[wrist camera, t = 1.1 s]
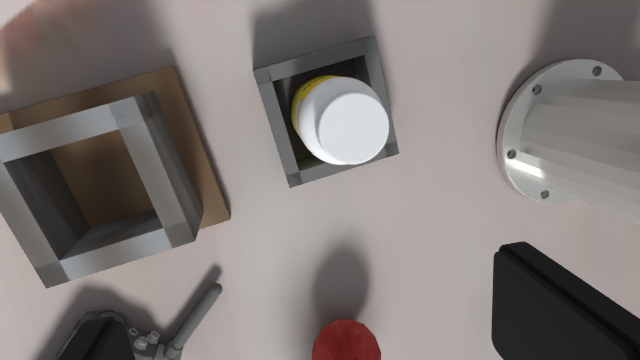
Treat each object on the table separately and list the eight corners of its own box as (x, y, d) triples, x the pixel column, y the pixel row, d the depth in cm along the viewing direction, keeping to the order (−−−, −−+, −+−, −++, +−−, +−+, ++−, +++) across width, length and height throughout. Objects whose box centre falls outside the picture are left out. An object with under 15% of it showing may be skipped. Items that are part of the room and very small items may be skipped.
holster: (362, 38, 29) (374, 35, 26) (385, 145, 32) (399, 153, 29) (252, 69, 28) (253, 70, 25) (286, 176, 31) (289, 187, 28)
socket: (174, 66, 27) (154, 66, 22) (230, 214, 31) (226, 248, 25) (-13, 118, 26) (-85, 133, 21) (70, 265, 30) (28, 312, 24)
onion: (377, 313, 37) (411, 378, 29) (347, 360, 38) (372, 435, 30) (325, 292, 35) (346, 355, 27) (295, 341, 36) (307, 416, 28)
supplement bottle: (358, 74, 30) (407, 80, 20) (354, 143, 31) (398, 177, 22) (288, 72, 29) (306, 77, 20) (288, 144, 30) (304, 179, 21)
